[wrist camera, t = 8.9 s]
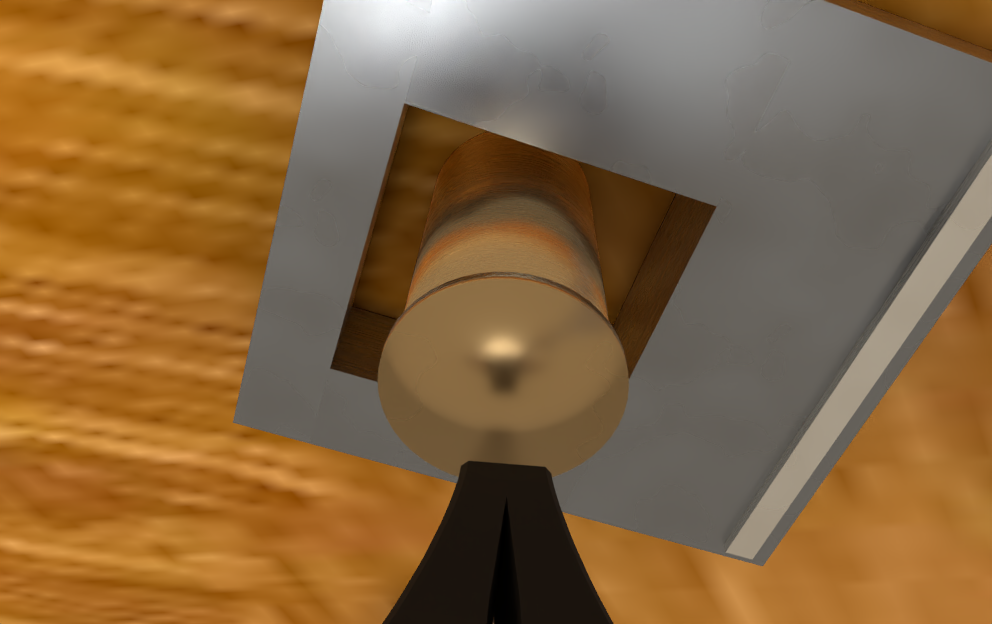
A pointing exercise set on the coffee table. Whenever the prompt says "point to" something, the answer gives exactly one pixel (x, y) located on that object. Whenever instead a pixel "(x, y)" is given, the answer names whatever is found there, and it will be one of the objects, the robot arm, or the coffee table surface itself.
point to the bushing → (505, 318)
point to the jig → (680, 240)
